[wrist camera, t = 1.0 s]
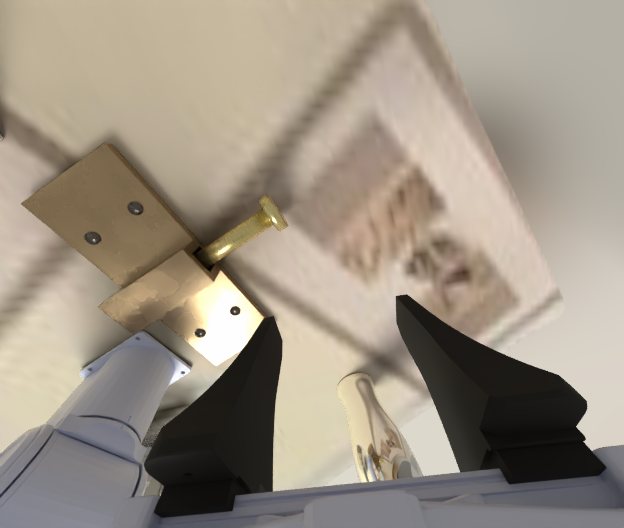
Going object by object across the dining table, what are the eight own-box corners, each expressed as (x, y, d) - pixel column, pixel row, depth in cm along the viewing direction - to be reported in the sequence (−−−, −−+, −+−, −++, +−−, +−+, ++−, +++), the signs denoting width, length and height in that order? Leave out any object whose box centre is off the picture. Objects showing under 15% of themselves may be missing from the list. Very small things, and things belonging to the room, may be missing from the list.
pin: (208, 273, 25) (199, 288, 22) (184, 247, 24) (170, 260, 20) (286, 221, 24) (289, 229, 21) (267, 192, 23) (266, 195, 20)
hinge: (213, 362, 30) (206, 388, 26) (26, 206, 20) (-27, 213, 16) (274, 324, 29) (274, 346, 26) (111, 144, 19) (75, 138, 16)
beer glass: (325, 395, 36) (359, 533, 22) (350, 364, 34) (403, 492, 21) (358, 405, 38) (407, 535, 25) (383, 377, 37) (450, 498, 23)
